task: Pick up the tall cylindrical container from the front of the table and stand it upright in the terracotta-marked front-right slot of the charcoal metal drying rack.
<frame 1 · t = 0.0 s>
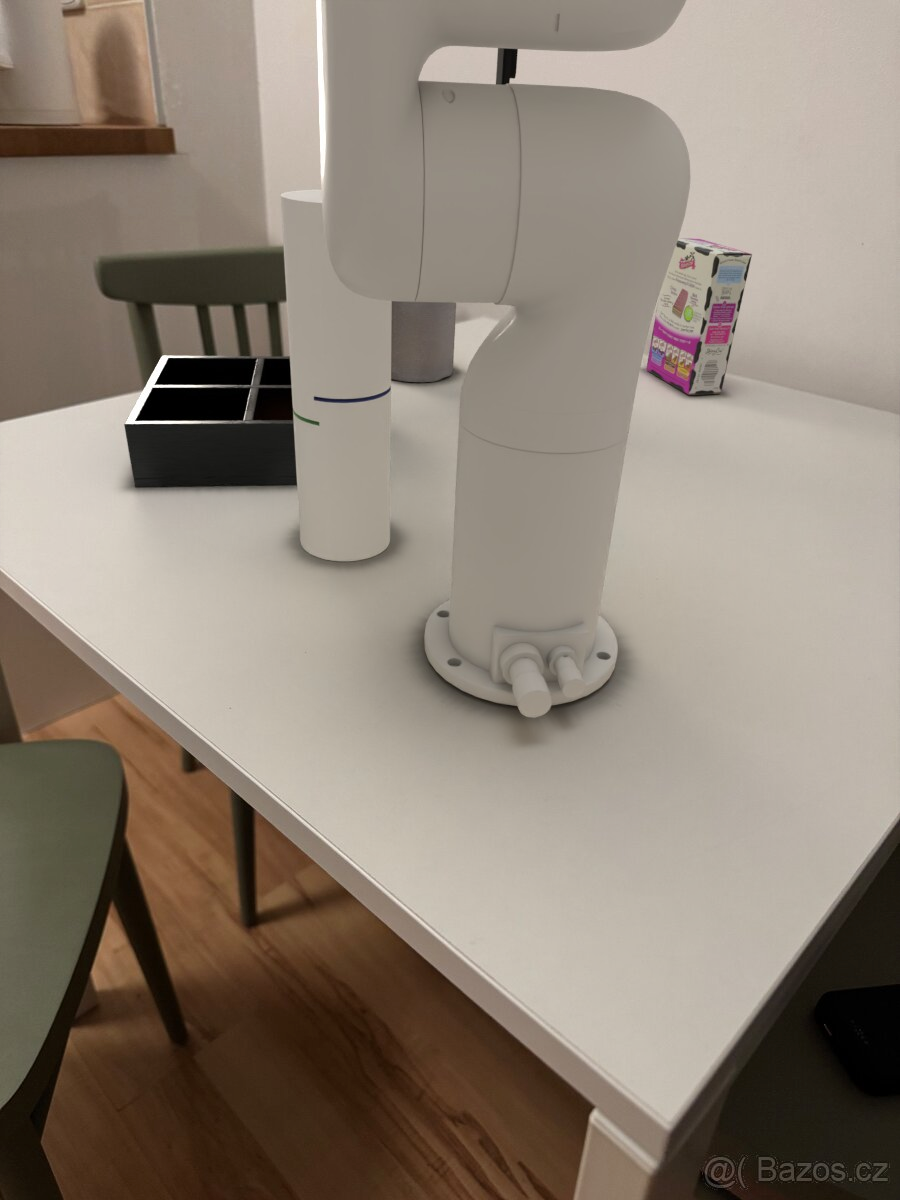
hand: (450, 85, 77), 31 cm above the table, tool pointing down, fingers open, 9 cm apart
candy bar box: (682, 383, 108), on the table
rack: (259, 443, 84), on the table
cylindrical container: (345, 541, 67), on the table
pillar candle: (415, 373, 106), on the table
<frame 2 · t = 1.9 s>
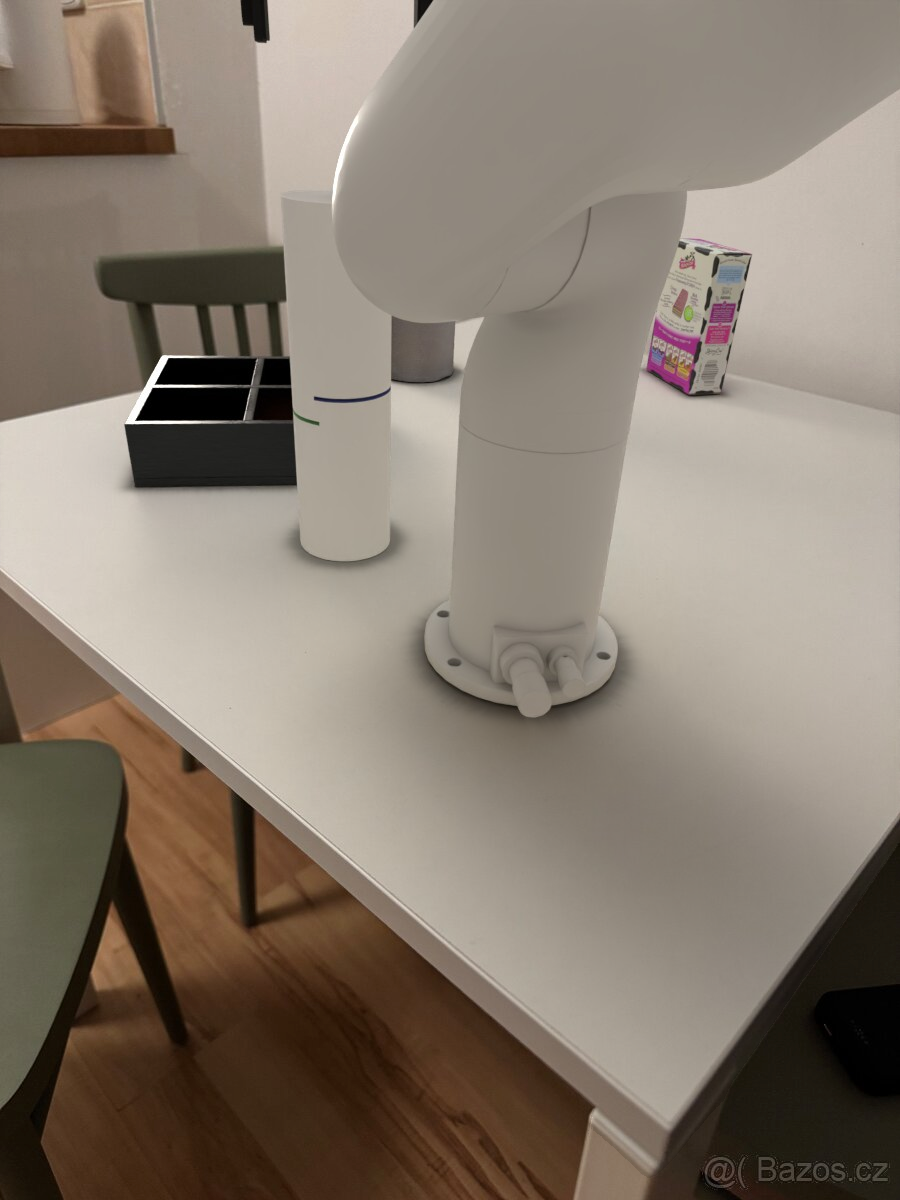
hand: (342, 45, 51), 33 cm above the table, tool pointing down, fingers open, 9 cm apart
nothing on the table moved.
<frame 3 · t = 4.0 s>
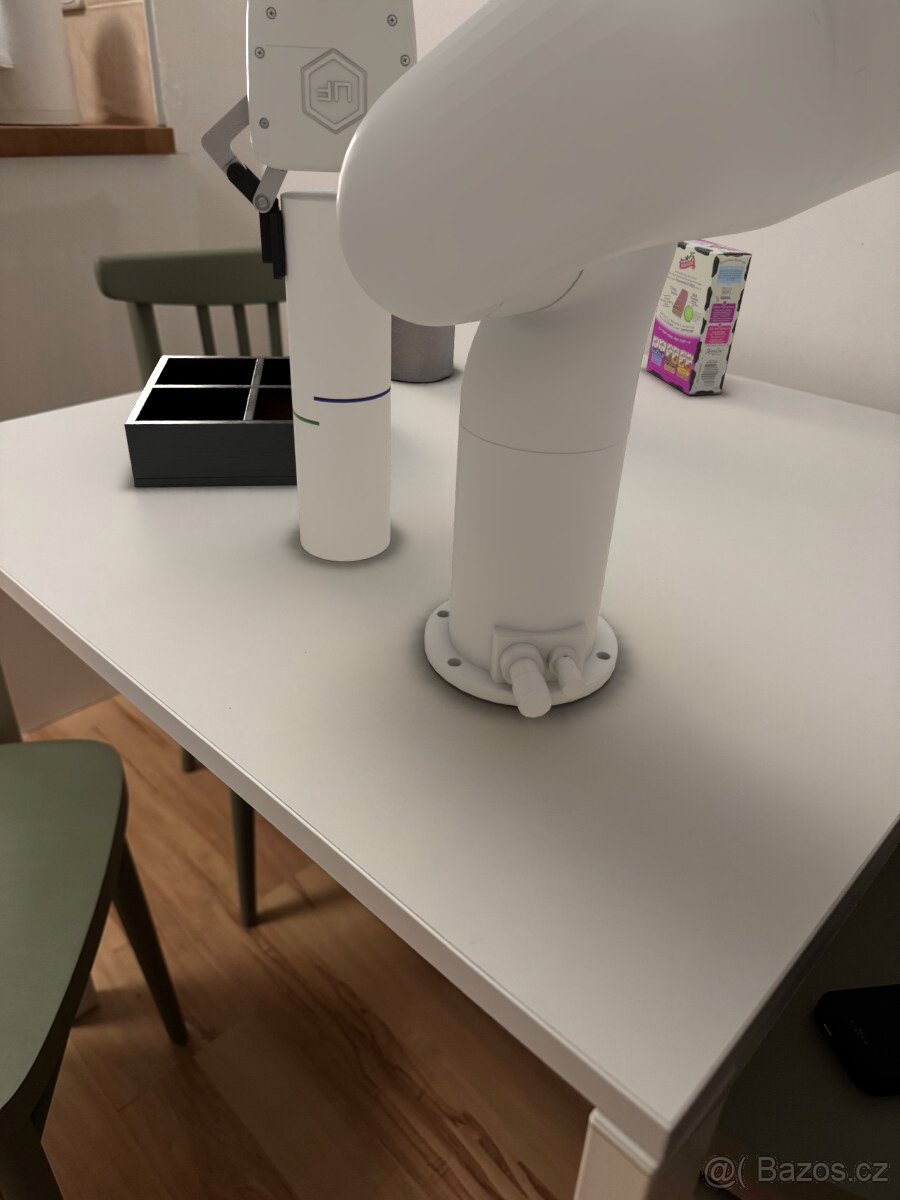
hand: (338, 274, 57), 20 cm above the table, tool pointing down, fingers closed on cylindrical container, 7 cm apart
cylindrical container: (345, 541, 67), on the table, touching gripper
everything else where it was.
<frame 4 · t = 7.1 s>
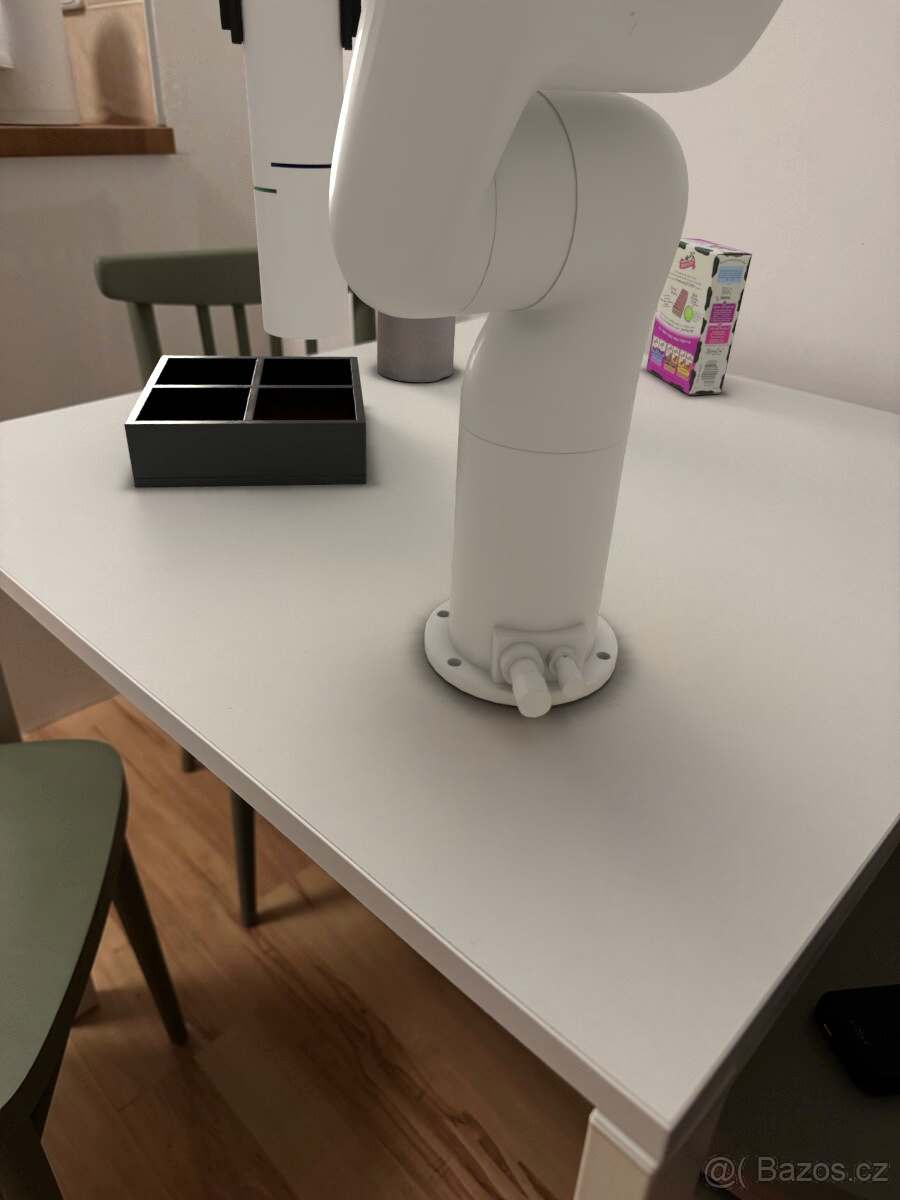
hand: (293, 44, 61), 33 cm above the table, tool pointing down, fingers closed on cylindrical container, 7 cm apart
cylindrical container: (306, 330, 72), point 13 cm above the table, touching gripper
everything else where it was.
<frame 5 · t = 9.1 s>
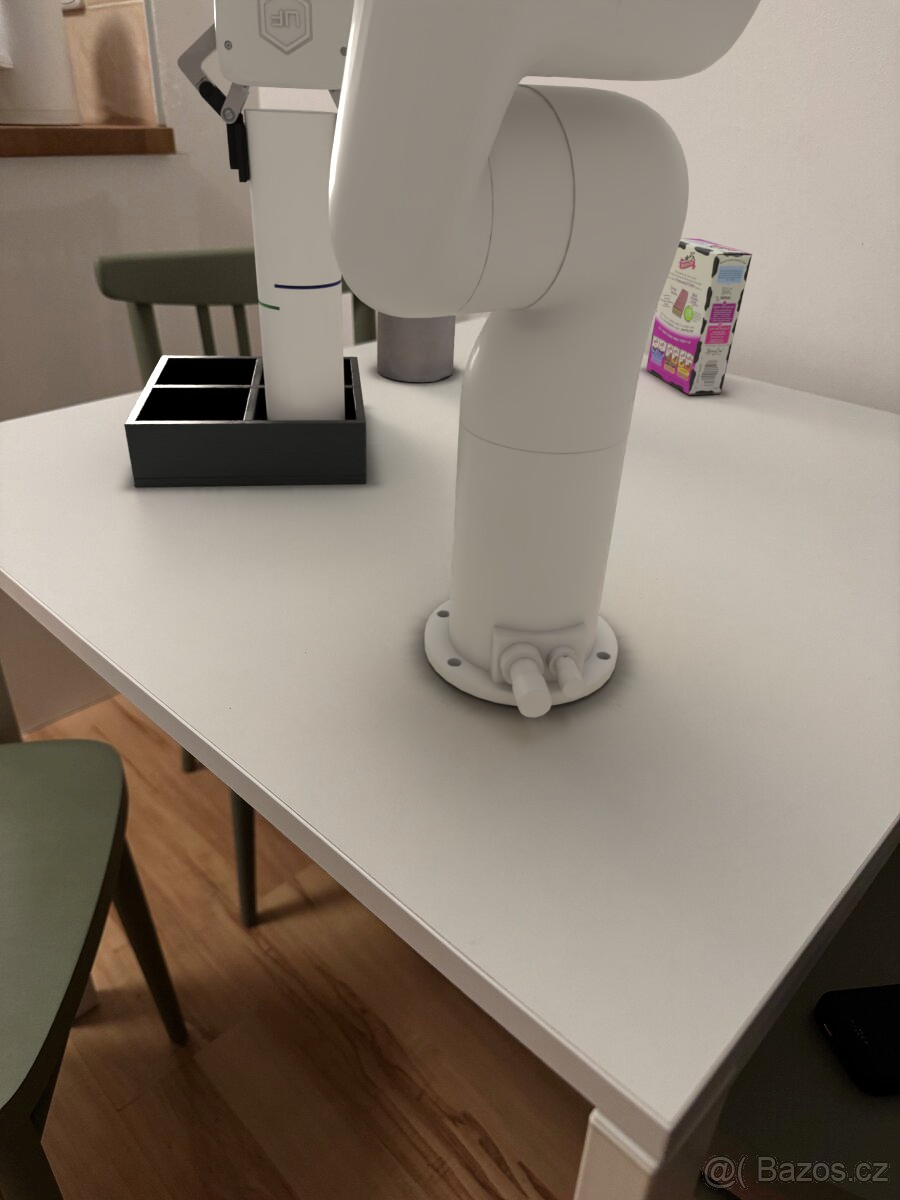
hand: (294, 180, 68), 24 cm above the table, tool pointing down, fingers closed on cylindrical container, 7 cm apart
cylindrical container: (306, 422, 78), point 4 cm above the table, touching gripper
everything else where it was.
when the fingers open (21 cm above the table, at t = 10.6 s): cylindrical container stays where it is, resting on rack.
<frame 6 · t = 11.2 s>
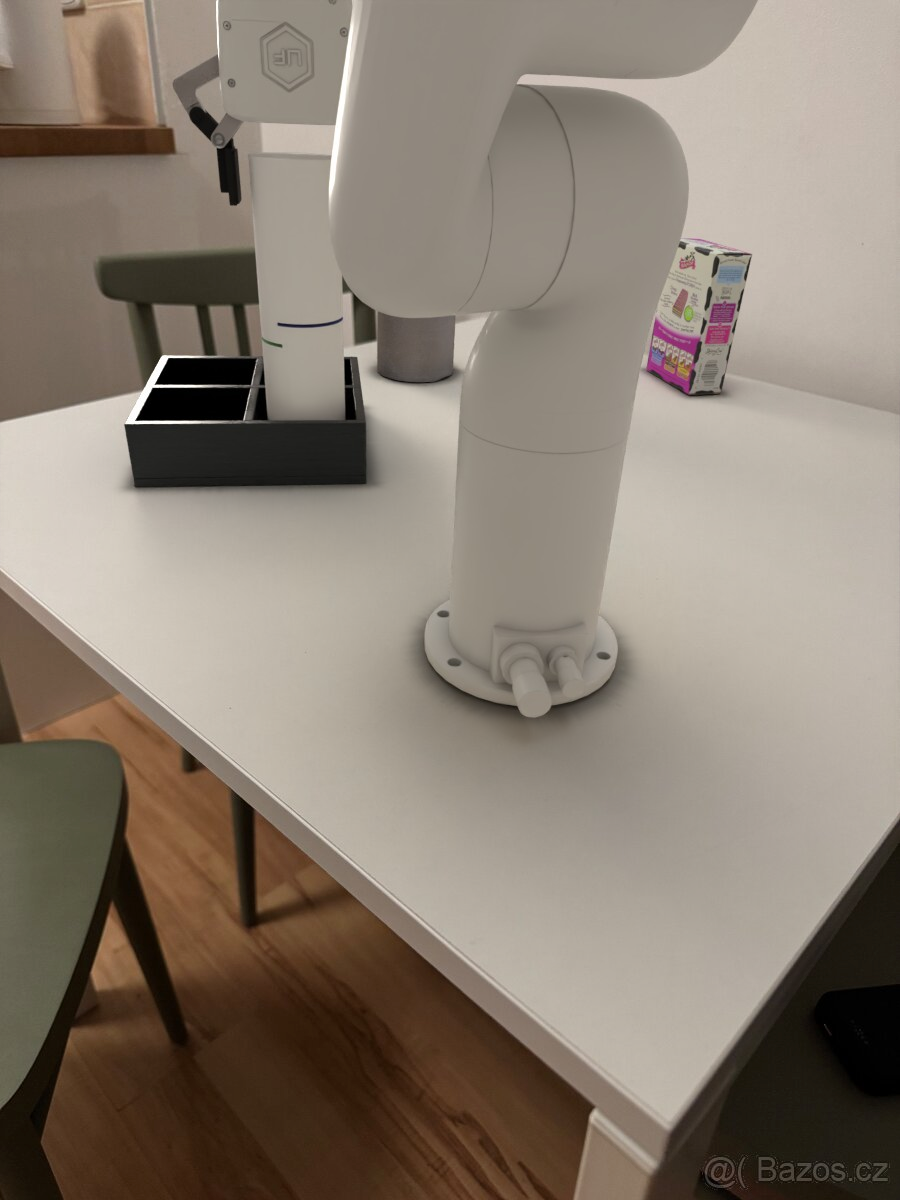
hand: (296, 205, 68), 22 cm above the table, tool pointing down, fingers open, 9 cm apart
cylindrical container: (308, 454, 80), point 1 cm above the table, touching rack
everything else where it was.
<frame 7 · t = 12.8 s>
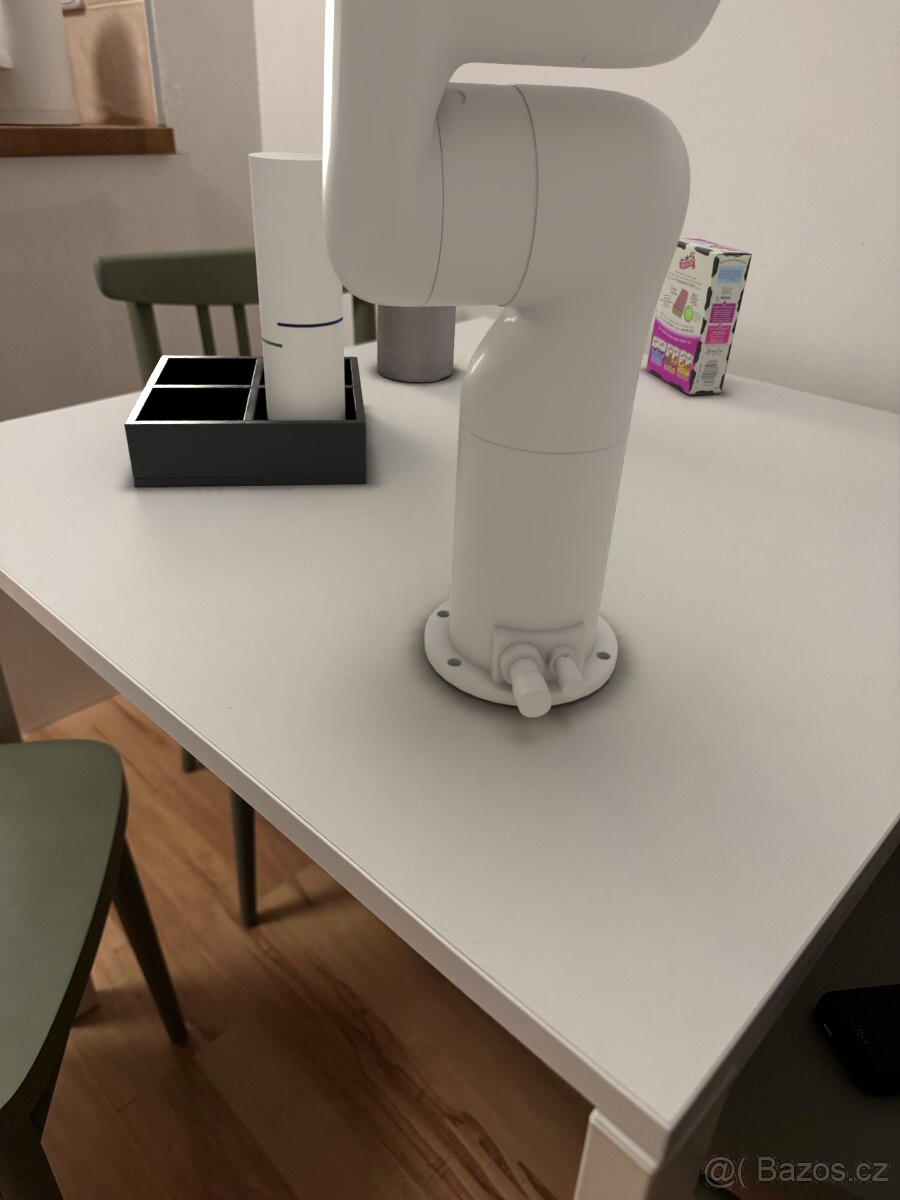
nothing on the table moved.
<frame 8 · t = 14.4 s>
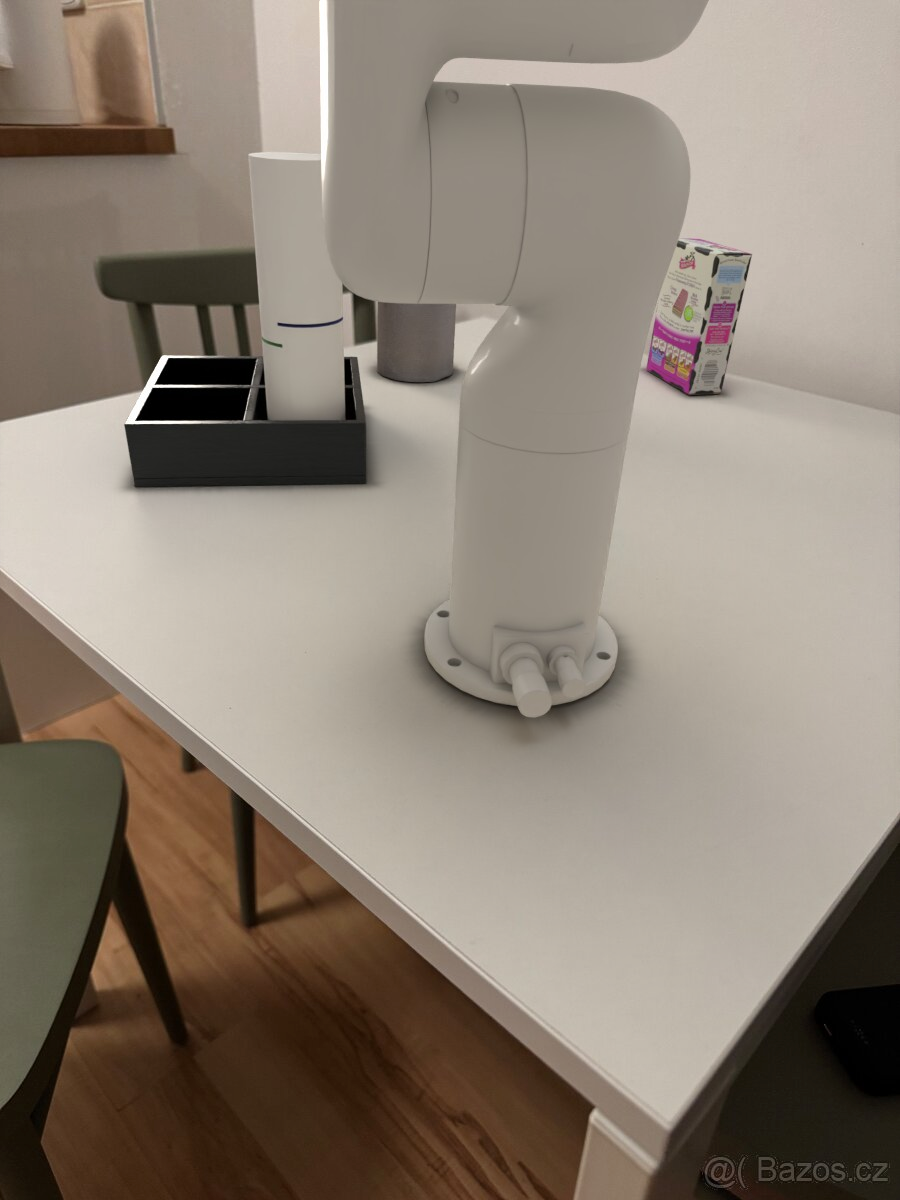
nothing on the table moved.
at the end: cylindrical container 0.1 cm from the target spot in the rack, point 0.8 cm above the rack's base; cylindrical container tilted 0° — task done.
